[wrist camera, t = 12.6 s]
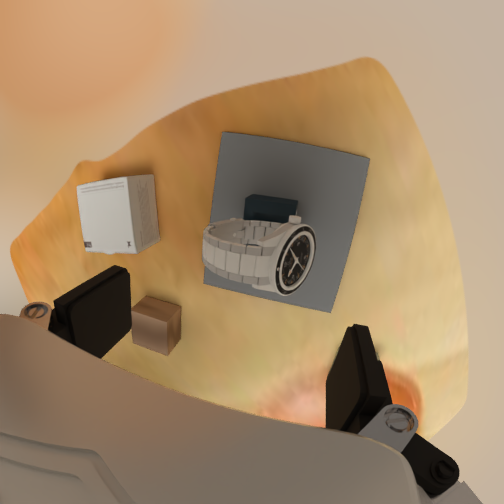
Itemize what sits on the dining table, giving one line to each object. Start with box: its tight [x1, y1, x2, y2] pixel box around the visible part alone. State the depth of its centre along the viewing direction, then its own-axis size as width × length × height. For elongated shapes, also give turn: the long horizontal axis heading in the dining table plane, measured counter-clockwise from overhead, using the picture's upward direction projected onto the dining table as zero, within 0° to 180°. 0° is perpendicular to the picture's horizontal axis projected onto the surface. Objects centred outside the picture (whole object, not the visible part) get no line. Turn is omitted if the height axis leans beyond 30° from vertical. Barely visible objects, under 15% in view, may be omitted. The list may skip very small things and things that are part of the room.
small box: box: [77, 174, 160, 254], centre depth 28 cm, size 8×8×5 cm
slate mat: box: [203, 132, 370, 313], centre depth 27 cm, size 16×14×1 cm
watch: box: [202, 194, 316, 296], centre depth 22 cm, size 6×8×11 cm
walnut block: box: [131, 296, 181, 356], centre depth 32 cm, size 5×5×4 cm
